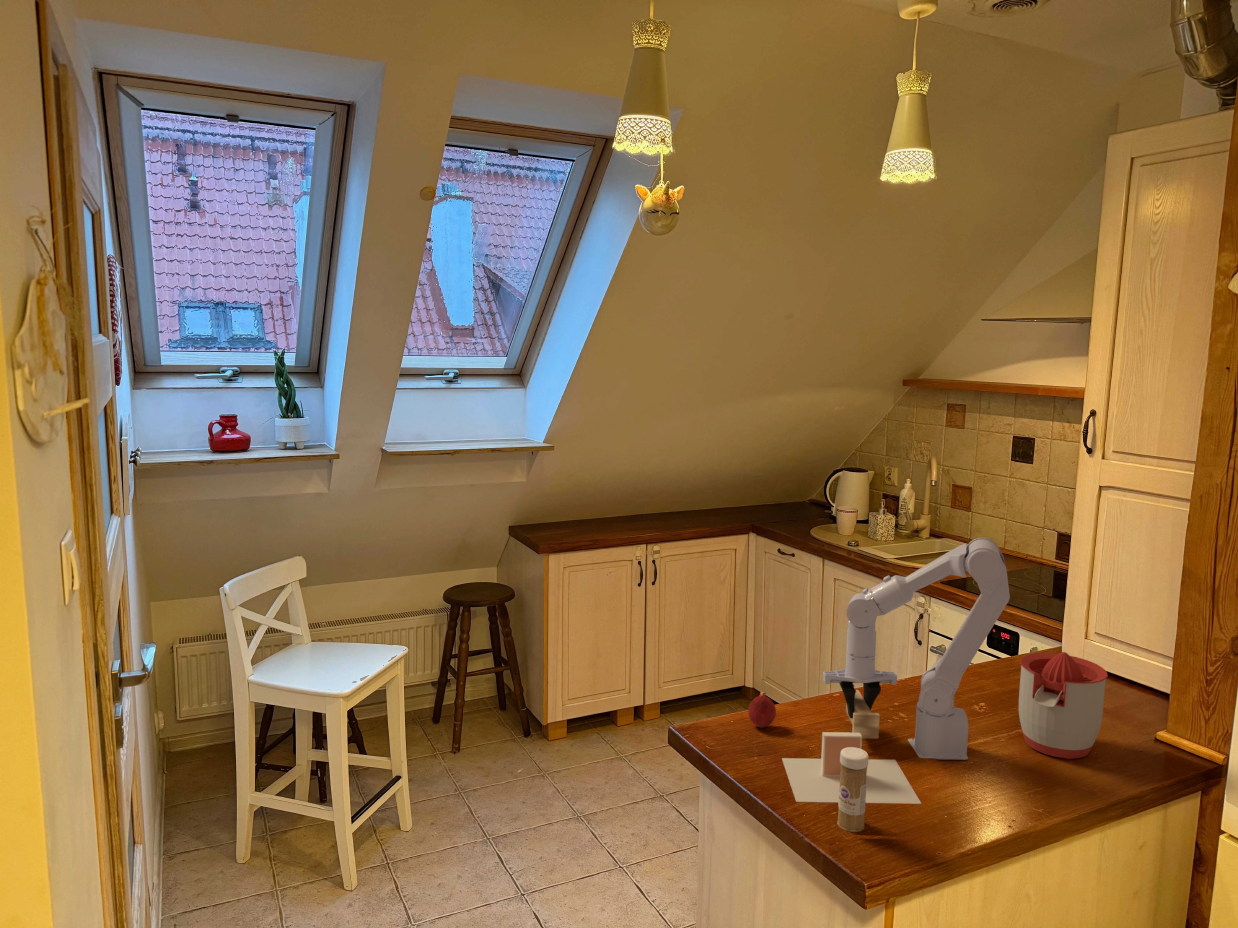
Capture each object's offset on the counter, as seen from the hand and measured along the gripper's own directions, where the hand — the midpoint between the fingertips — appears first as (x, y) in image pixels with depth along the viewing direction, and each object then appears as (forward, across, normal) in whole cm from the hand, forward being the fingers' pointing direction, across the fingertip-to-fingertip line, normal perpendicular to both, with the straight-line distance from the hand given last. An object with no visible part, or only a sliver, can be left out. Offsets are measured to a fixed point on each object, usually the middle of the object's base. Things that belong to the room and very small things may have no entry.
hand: (858, 716), depth 179 cm
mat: (+5, +6, +18) cm, 20 cm away
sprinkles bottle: (+5, +9, +33) cm, 35 cm away
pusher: (+2, 0, 0) cm, 2 cm away
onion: (+5, +19, -4) cm, 20 cm away
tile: (+4, +7, +16) cm, 18 cm away
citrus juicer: (+5, -39, +3) cm, 39 cm away
